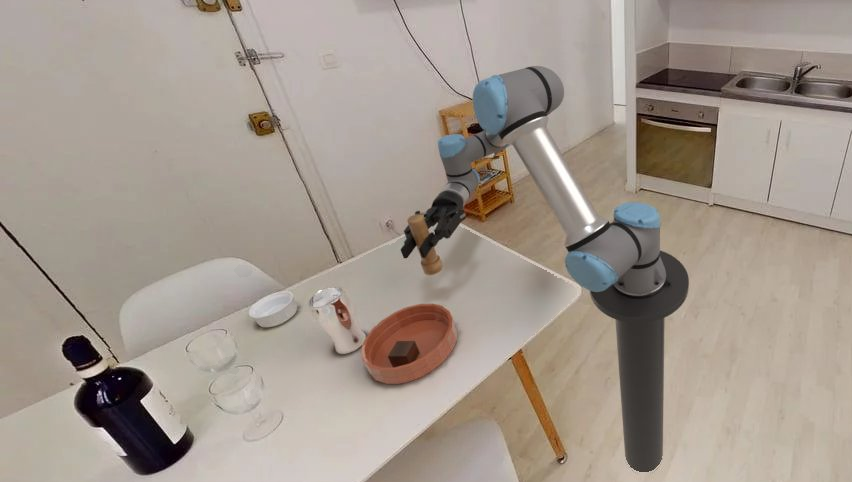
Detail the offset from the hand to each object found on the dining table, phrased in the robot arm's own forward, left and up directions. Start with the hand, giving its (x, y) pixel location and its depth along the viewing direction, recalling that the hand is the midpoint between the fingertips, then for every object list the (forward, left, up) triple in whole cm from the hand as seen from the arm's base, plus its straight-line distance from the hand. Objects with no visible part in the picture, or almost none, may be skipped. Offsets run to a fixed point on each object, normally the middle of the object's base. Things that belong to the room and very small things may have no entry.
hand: (412, 253), depth 96 cm
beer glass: (+15, +11, -18) cm, 26 cm away
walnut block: (-1, +16, -17) cm, 24 cm away
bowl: (-1, +13, -18) cm, 22 cm away
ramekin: (+39, +2, -18) cm, 43 cm away
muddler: (0, -5, -10) cm, 11 cm away
